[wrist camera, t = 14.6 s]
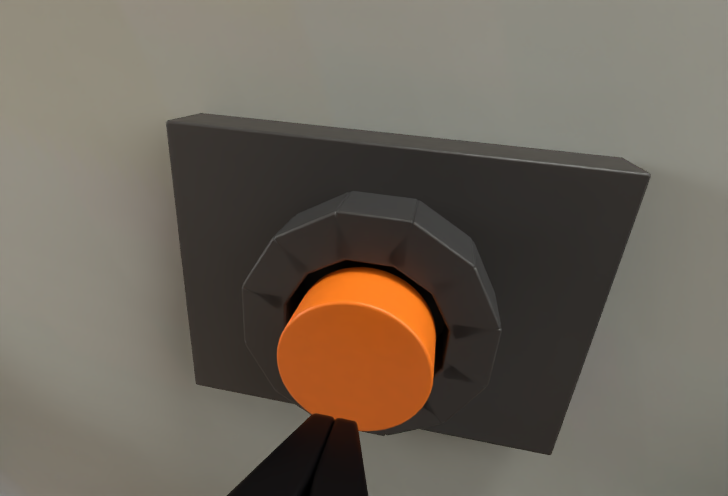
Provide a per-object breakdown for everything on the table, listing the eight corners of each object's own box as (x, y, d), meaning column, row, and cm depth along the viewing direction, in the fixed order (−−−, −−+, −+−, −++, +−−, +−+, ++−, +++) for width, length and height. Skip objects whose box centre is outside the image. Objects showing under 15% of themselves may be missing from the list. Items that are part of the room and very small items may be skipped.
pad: (624, 157, 11) (691, 195, 8) (540, 413, 15) (564, 508, 12) (200, 112, 13) (119, 130, 10) (220, 353, 17) (166, 422, 13)
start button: (446, 277, 10) (445, 317, 9) (426, 393, 12) (422, 446, 10) (300, 255, 11) (274, 289, 9) (299, 369, 12) (276, 416, 11)
